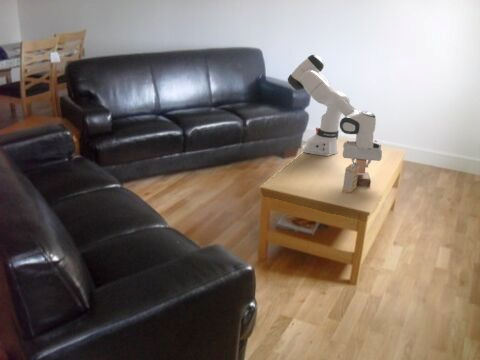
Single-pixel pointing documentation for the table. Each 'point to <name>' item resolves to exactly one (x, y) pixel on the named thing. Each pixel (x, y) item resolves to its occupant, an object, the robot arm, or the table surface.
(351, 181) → the supplement box
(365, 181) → the plinth
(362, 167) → the terracotta block
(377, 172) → the table surface
